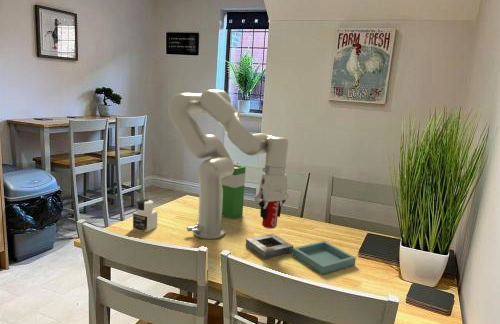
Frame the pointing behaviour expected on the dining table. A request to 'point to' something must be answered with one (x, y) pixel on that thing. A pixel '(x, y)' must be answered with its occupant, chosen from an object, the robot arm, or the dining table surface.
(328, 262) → the tray
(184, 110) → the robot arm
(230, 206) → the green cereal box
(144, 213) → the medicine bottle
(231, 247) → the dining table surface
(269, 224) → the soda can
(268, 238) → the grey square frame
